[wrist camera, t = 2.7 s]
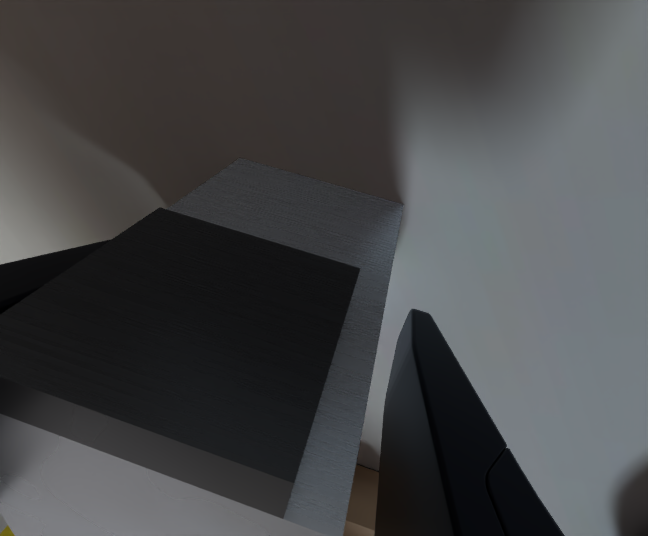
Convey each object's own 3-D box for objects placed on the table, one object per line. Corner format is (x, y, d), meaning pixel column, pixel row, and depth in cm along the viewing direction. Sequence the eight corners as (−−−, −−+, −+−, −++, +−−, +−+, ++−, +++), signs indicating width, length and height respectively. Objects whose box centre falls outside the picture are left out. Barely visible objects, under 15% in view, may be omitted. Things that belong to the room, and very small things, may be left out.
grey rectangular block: (411, 179, 9) (360, 507, 3) (360, 329, 11) (279, 657, 5) (241, 132, 9) (-113, 335, 3) (231, 287, 11) (27, 552, 6)
